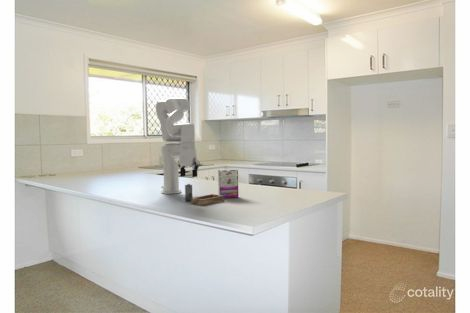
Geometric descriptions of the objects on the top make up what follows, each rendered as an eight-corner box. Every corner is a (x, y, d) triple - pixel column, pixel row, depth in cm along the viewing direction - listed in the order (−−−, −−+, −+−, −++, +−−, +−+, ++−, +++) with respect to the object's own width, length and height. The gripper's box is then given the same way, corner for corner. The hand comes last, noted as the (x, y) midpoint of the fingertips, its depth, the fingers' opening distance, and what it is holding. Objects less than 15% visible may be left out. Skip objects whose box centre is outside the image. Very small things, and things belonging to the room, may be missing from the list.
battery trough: (191, 203, 184) (191, 198, 183) (212, 199, 196) (212, 194, 196) (202, 205, 178) (202, 200, 178) (224, 200, 190) (224, 195, 190)
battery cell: (183, 201, 191) (183, 184, 190) (189, 200, 194) (188, 183, 193) (188, 202, 188) (188, 184, 188) (194, 201, 191) (193, 183, 191)
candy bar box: (236, 196, 205) (236, 169, 204) (238, 197, 200) (238, 169, 199) (218, 197, 202) (217, 169, 201) (220, 198, 197) (219, 170, 196)
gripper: (172, 146, 192) (173, 176, 192) (193, 145, 181) (194, 177, 181) (182, 145, 197) (183, 175, 198) (203, 145, 186) (204, 176, 187)
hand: (188, 176), depth 190 cm, fingers open, 9 cm apart
